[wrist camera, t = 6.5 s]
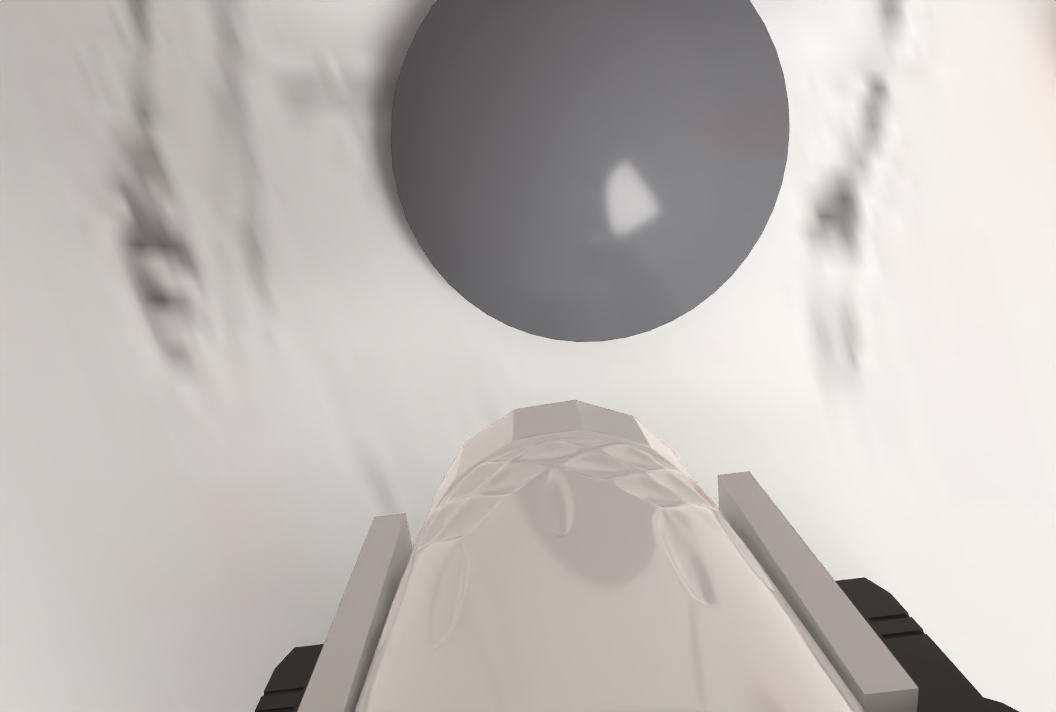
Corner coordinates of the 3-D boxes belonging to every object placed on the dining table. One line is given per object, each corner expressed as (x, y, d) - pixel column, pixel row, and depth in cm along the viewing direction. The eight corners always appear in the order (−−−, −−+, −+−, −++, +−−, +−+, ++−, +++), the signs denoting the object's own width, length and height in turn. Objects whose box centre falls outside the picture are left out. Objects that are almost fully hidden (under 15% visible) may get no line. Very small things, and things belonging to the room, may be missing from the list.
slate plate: (854, 125, 30) (872, 122, 28) (602, 402, 33) (606, 411, 32) (567, -167, 26) (570, -187, 25) (321, 175, 30) (311, 175, 28)
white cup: (608, 314, 15) (778, 572, 5) (765, 548, 17) (1094, 1044, 7) (350, 485, 16) (110, 951, 6) (525, 686, 18) (538, 1272, 8)
